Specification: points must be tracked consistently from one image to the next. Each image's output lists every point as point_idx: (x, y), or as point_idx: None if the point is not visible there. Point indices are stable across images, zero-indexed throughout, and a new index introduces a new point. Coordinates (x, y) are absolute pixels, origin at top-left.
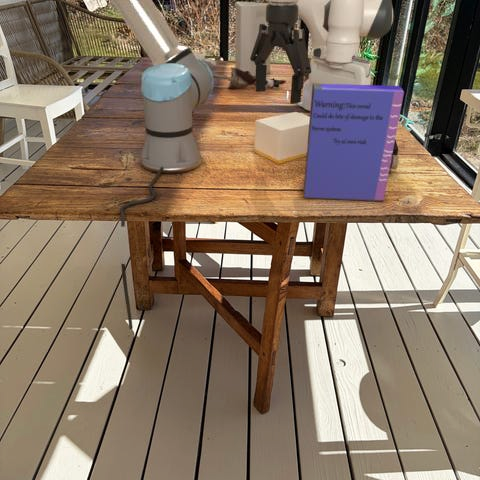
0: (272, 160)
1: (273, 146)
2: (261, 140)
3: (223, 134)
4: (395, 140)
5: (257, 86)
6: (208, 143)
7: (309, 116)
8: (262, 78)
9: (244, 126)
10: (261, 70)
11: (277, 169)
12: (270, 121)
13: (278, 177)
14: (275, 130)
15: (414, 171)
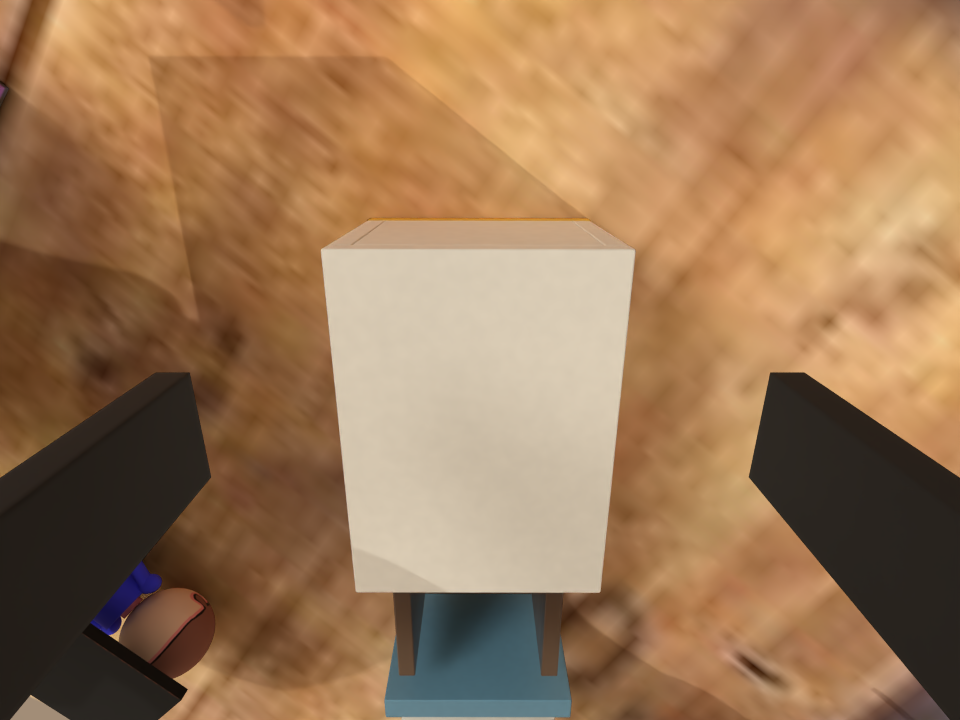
0: (421, 218)
1: (409, 228)
2: (531, 229)
3: (927, 246)
4: (33, 695)
5: (814, 400)
6: (887, 60)
7: (542, 626)
8: (847, 519)
9: (923, 425)
10: (953, 590)
11: (306, 158)
12: (536, 326)
13: (208, 85)
14: (381, 246)
15: None
